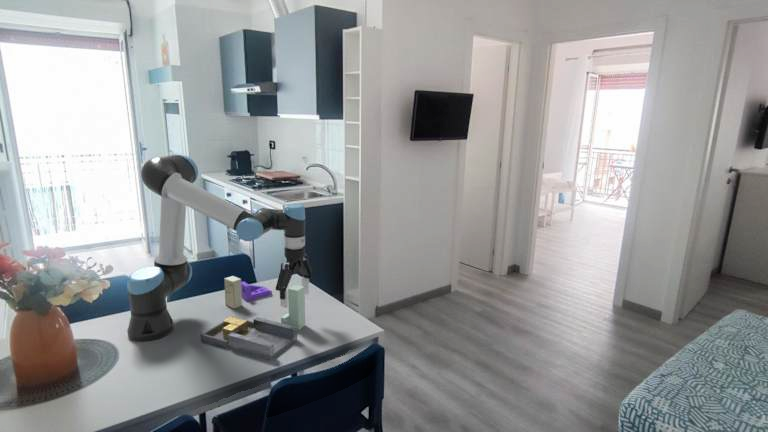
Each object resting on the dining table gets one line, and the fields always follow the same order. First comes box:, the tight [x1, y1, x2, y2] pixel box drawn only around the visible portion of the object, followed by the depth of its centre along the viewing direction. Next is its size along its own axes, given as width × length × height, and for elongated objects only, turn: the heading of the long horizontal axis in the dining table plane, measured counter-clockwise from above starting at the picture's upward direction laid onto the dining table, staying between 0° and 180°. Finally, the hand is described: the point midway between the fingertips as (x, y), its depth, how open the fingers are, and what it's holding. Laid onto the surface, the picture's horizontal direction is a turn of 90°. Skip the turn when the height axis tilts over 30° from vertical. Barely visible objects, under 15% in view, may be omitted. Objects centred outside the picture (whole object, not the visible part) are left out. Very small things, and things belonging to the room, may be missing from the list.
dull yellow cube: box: [222, 316, 240, 327], centre depth 162 cm, size 4×4×4 cm
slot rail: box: [228, 316, 298, 361], centre depth 153 cm, size 18×15×5 cm
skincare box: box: [223, 275, 243, 309], centre depth 183 cm, size 6×4×12 cm
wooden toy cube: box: [223, 324, 240, 340], centre depth 156 cm, size 4×4×4 cm
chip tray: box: [200, 315, 254, 349], centre depth 160 cm, size 12×16×2 cm
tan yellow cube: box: [231, 318, 248, 335], centre depth 160 cm, size 4×4×4 cm
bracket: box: [241, 281, 273, 302], centre depth 195 cm, size 12×7×7 cm, turn 133°
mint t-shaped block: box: [280, 284, 306, 331], centre depth 165 cm, size 6×9×16 cm
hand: (295, 299), depth 164 cm, fingers open, 13 cm apart
